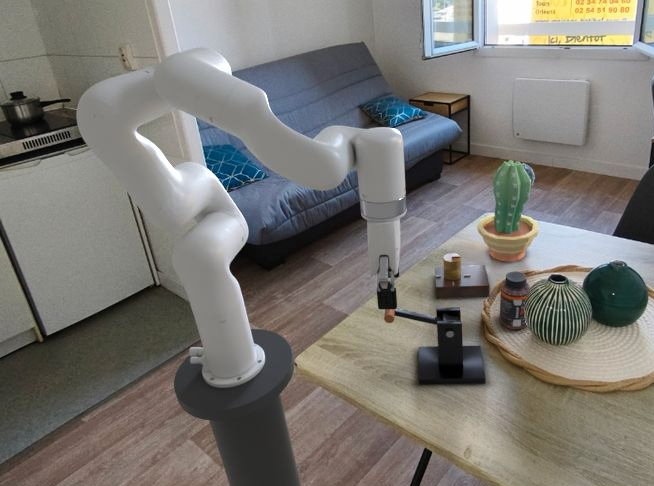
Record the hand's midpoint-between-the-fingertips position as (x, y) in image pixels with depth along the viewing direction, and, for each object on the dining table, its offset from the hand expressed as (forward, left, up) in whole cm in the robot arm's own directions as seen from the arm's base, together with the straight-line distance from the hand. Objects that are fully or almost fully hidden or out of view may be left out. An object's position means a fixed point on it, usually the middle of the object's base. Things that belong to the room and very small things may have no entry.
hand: (389, 291), depth 89 cm
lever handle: (+5, 0, -7) cm, 8 cm away
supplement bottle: (+24, +13, -18) cm, 33 cm away
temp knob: (+12, +27, -14) cm, 33 cm away
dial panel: (+14, +27, -17) cm, 35 cm away
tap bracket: (+10, 0, -17) cm, 20 cm away
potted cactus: (+27, +42, -17) cm, 53 cm away
